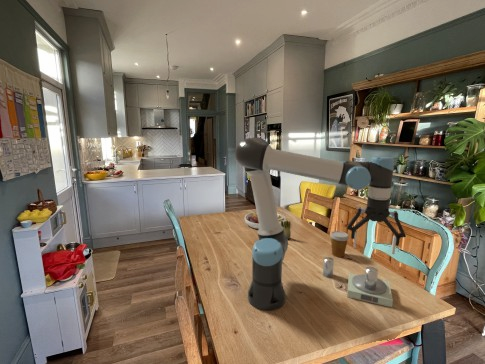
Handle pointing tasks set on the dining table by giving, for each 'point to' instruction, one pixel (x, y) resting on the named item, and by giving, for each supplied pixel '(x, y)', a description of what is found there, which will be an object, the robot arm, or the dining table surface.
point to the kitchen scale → (369, 291)
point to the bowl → (253, 220)
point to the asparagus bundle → (286, 228)
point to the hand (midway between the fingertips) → (373, 249)
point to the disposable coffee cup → (339, 243)
